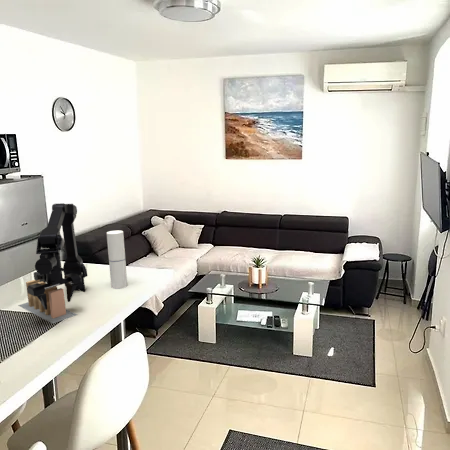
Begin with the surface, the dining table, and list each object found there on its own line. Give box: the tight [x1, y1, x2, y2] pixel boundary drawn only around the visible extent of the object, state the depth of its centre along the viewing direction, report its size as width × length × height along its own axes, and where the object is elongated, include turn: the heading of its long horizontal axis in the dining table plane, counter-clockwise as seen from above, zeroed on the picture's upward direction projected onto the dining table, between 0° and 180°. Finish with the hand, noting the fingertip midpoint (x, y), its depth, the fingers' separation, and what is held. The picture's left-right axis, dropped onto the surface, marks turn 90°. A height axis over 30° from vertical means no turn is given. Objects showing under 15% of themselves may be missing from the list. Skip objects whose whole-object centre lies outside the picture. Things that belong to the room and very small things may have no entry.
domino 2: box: [31, 282, 46, 310], centre depth 173 cm, size 2×5×10 cm, turn 139°
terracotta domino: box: [48, 287, 67, 318], centre depth 164 cm, size 2×5×10 cm, turn 138°
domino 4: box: [44, 286, 58, 315], centre depth 167 cm, size 2×5×10 cm, turn 139°
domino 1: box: [25, 279, 40, 307], centre depth 176 cm, size 2×5×10 cm, turn 139°
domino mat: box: [18, 301, 78, 324], centre depth 171 cm, size 28×10×1 cm, turn 49°
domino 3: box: [38, 299, 45, 312], centre depth 170 cm, size 2×5×10 cm, turn 139°
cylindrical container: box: [106, 229, 128, 290], centre depth 195 cm, size 7×7×25 cm
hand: (57, 305), depth 164 cm, fingers open, 9 cm apart
